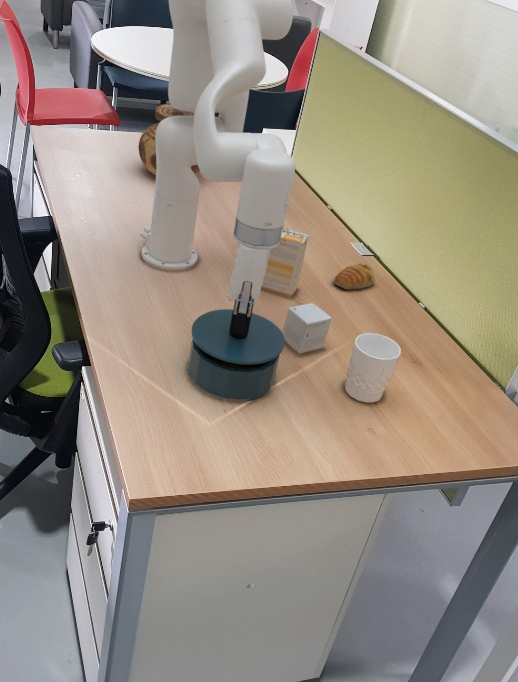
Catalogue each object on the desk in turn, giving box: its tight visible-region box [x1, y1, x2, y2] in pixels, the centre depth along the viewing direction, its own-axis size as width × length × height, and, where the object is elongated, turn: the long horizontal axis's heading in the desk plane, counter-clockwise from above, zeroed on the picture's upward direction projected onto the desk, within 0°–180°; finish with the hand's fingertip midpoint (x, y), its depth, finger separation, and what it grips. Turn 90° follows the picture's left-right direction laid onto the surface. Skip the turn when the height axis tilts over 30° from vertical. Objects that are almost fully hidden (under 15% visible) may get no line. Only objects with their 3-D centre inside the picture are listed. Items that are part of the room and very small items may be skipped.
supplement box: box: [261, 227, 309, 297], centre depth 158 cm, size 8×5×13 cm, turn 65°
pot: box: [188, 337, 281, 402], centre depth 132 cm, size 15×15×6 cm
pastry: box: [334, 262, 376, 291], centre depth 166 cm, size 9×7×4 cm
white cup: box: [344, 332, 402, 404], centre depth 131 cm, size 8×8×10 cm
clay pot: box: [138, 103, 200, 176], centre depth 203 cm, size 19×19×20 cm
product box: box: [282, 302, 332, 354], centre depth 142 cm, size 6×6×7 cm
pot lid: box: [190, 302, 286, 365], centre depth 127 cm, size 16×16×7 cm
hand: (239, 326), depth 128 cm, fingers closed on pot lid, 3 cm apart
